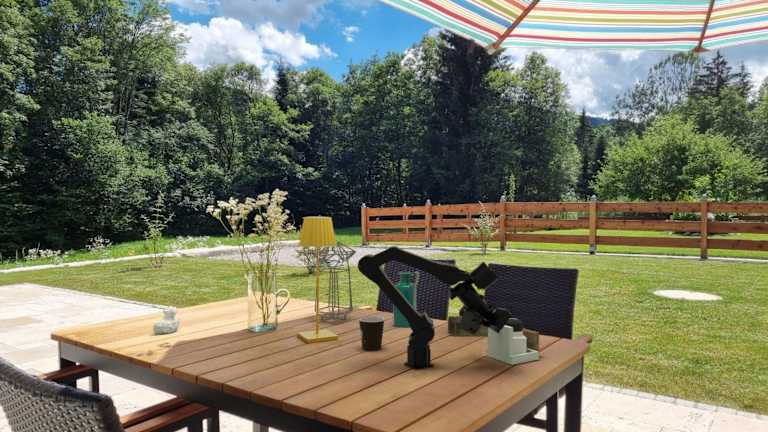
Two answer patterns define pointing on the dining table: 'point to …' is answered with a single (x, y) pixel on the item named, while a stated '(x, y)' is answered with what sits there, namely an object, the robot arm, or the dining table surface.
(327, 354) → the dining table surface
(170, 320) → the bust
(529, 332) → the wall
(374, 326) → the coffee mug
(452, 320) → the beverage carton
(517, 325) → the medicine bottle
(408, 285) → the teal tall bottle shape
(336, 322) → the geometric lantern
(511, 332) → the white angle bracket
